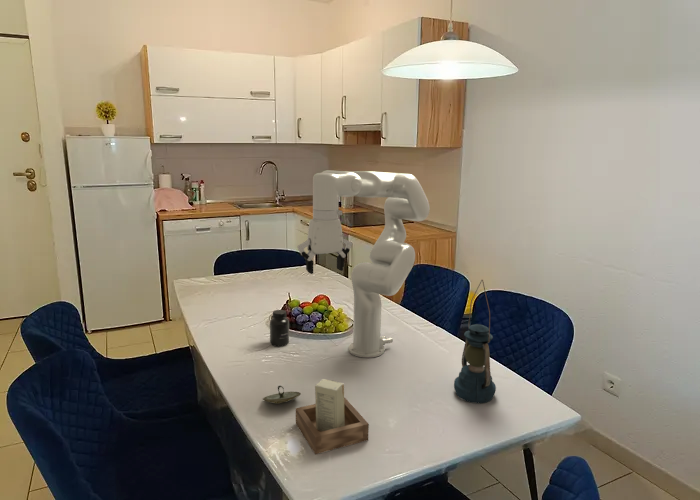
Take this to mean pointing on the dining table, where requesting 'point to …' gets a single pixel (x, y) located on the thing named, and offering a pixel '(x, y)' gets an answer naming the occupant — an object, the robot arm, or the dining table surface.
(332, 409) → the skincare box
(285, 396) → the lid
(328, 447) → the wooden tray
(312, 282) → the dining table surface
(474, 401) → the lantern
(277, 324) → the supplement bottle
